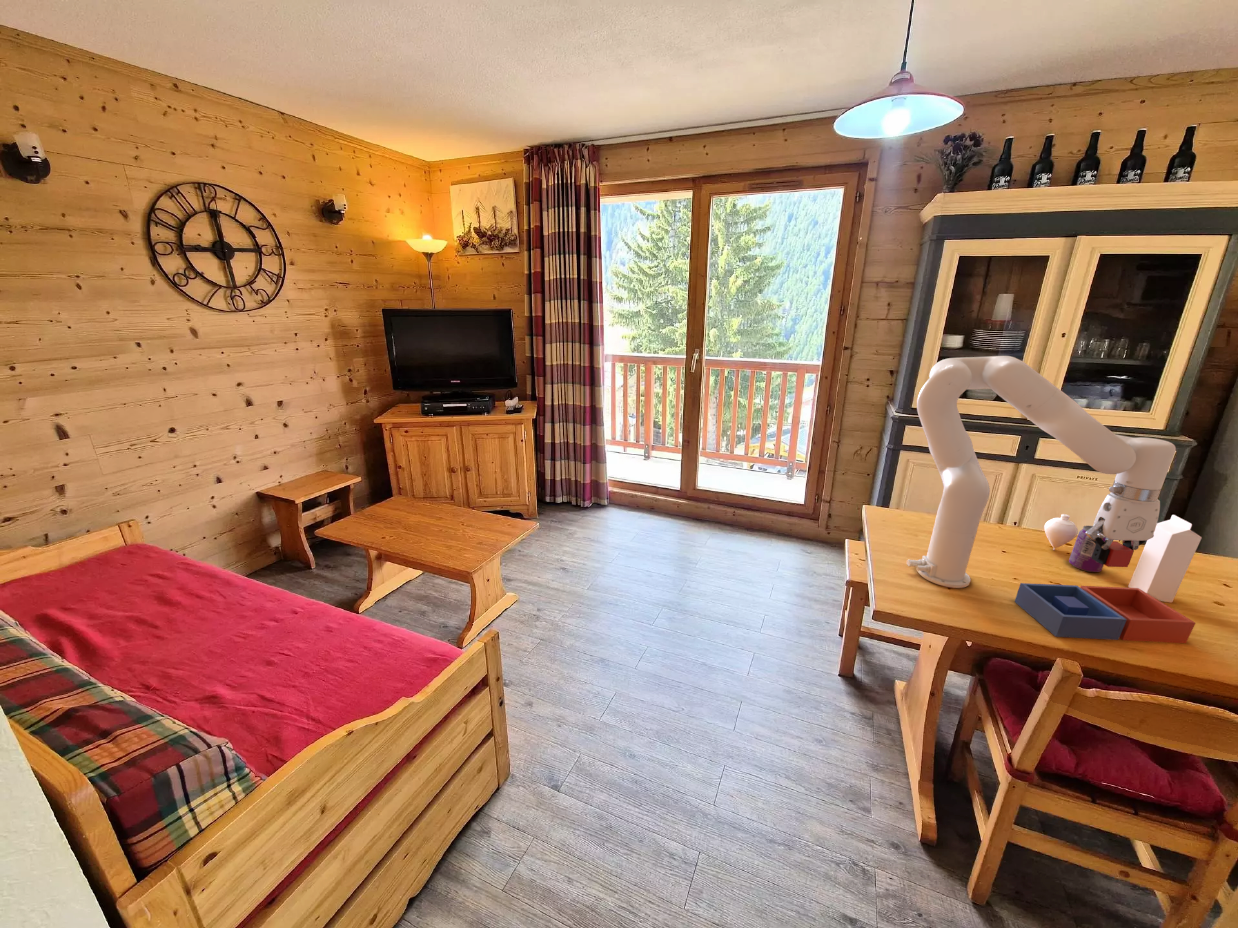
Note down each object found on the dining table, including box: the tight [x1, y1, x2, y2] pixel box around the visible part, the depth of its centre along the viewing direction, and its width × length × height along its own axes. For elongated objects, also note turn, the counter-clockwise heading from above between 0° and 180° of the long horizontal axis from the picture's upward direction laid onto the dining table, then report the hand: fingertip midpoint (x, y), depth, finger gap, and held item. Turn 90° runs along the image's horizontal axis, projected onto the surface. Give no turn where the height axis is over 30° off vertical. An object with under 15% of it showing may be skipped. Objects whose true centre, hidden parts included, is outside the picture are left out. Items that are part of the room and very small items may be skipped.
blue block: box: [1051, 596, 1089, 616], centre depth 116 cm, size 4×4×4 cm
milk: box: [1127, 514, 1202, 603], centre depth 124 cm, size 6×6×22 cm
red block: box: [1104, 540, 1135, 568], centre depth 116 cm, size 4×4×4 cm
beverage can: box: [1068, 525, 1107, 573], centre depth 138 cm, size 7×7×12 cm
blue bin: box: [1014, 582, 1127, 641], centre depth 116 cm, size 14×14×6 cm
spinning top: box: [1043, 513, 1079, 551], centre depth 148 cm, size 8×8×12 cm
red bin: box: [1079, 585, 1196, 644], centre depth 115 cm, size 14×14×6 cm
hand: (1109, 561), depth 117 cm, fingers closed on red block, 4 cm apart
